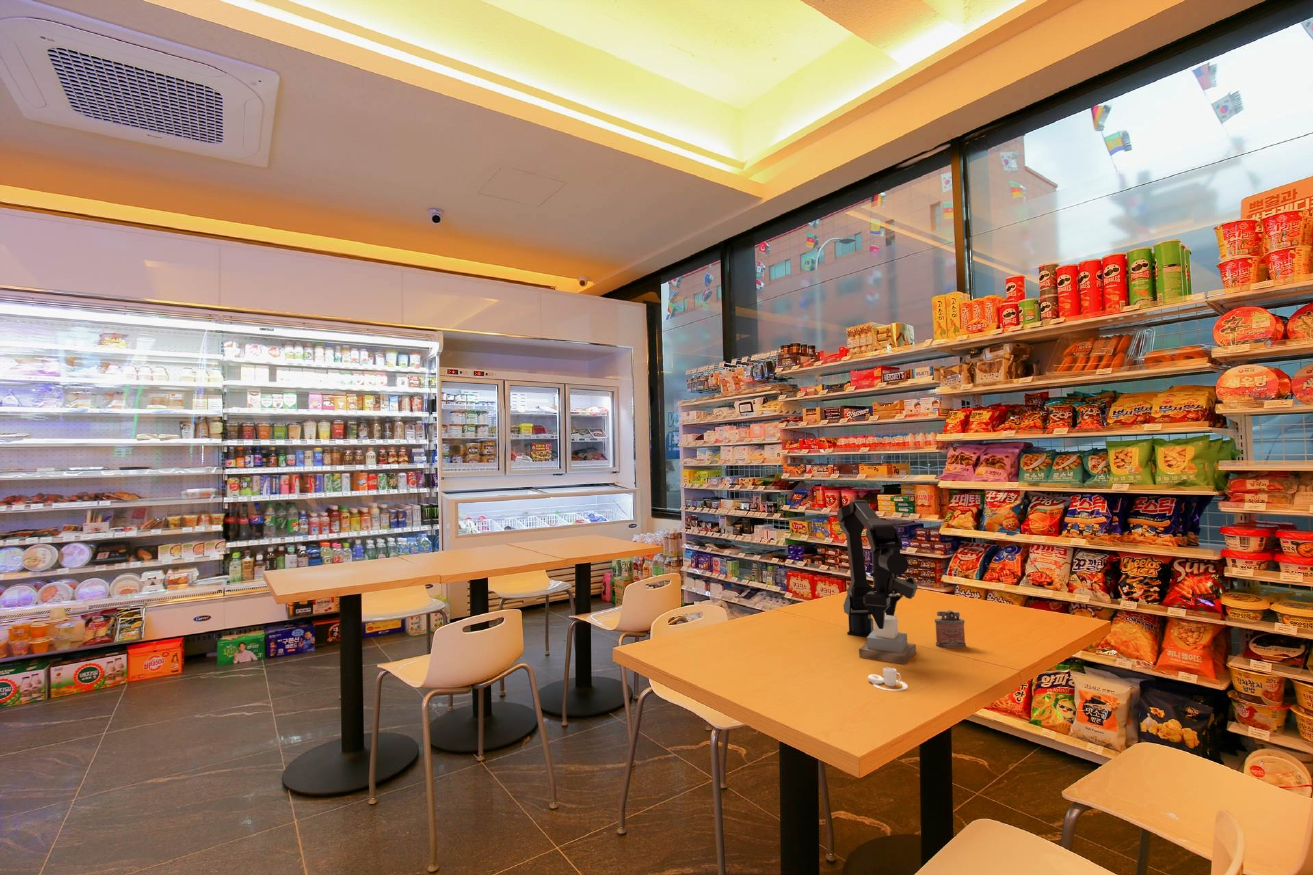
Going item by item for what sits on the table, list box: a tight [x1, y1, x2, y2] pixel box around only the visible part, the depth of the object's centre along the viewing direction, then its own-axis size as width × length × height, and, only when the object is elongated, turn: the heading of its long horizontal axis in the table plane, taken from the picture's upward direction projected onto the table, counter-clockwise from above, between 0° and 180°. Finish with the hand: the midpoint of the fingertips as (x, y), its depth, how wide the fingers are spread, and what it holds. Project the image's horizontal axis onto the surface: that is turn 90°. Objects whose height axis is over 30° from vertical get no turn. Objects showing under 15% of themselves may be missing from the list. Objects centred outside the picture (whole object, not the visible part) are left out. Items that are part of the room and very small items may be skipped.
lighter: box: [934, 609, 967, 649], centre depth 177 cm, size 8×3×10 cm, turn 84°
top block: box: [866, 629, 908, 653], centre depth 171 cm, size 9×9×3 cm
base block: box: [858, 642, 917, 665], centre depth 171 cm, size 12×12×3 cm
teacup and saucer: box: [867, 666, 909, 692], centre depth 148 cm, size 9×8×4 cm
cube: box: [873, 614, 899, 639], centre depth 171 cm, size 5×5×5 cm
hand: (886, 624), depth 171 cm, fingers open, 9 cm apart
